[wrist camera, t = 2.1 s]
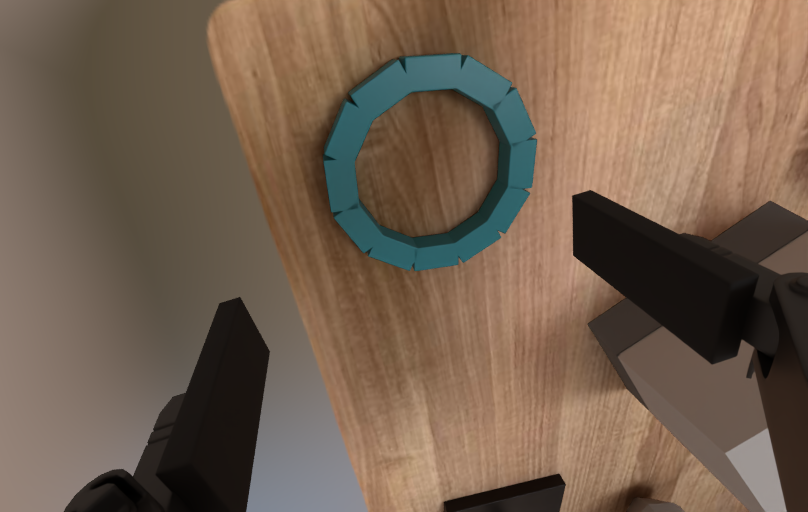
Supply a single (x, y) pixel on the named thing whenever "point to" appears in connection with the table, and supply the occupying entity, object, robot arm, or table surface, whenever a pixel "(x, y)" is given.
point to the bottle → (652, 506)
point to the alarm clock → (711, 370)
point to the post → (515, 498)
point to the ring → (382, 95)
